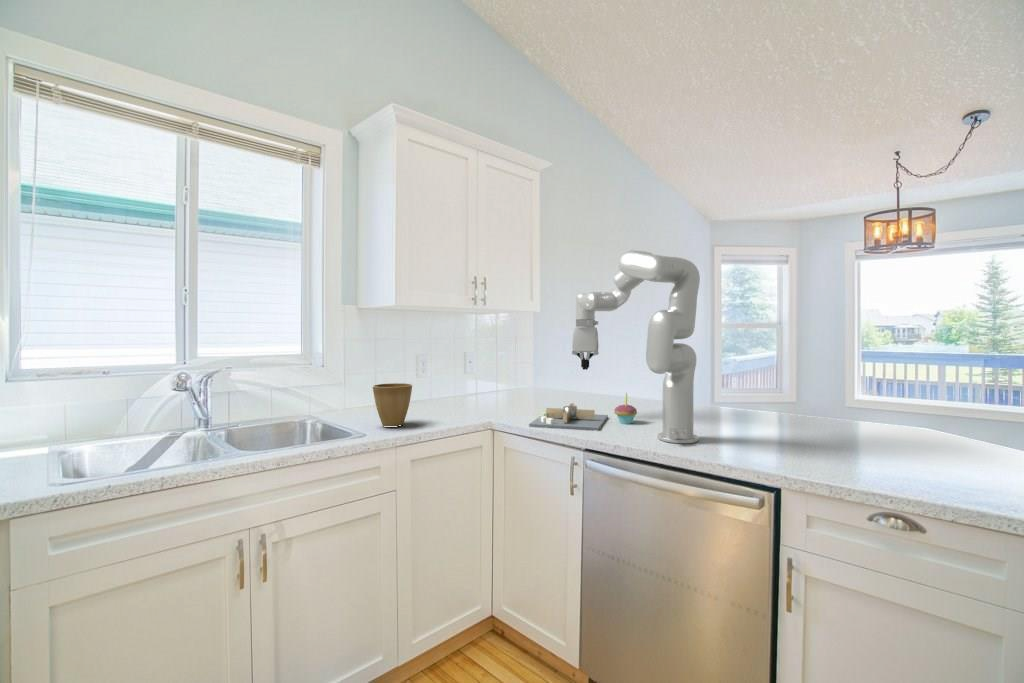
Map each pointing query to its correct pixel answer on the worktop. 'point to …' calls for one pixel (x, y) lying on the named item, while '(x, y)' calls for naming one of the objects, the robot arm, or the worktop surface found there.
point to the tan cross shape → (570, 413)
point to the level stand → (569, 422)
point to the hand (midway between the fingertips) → (585, 369)
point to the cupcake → (625, 412)
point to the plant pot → (392, 402)
